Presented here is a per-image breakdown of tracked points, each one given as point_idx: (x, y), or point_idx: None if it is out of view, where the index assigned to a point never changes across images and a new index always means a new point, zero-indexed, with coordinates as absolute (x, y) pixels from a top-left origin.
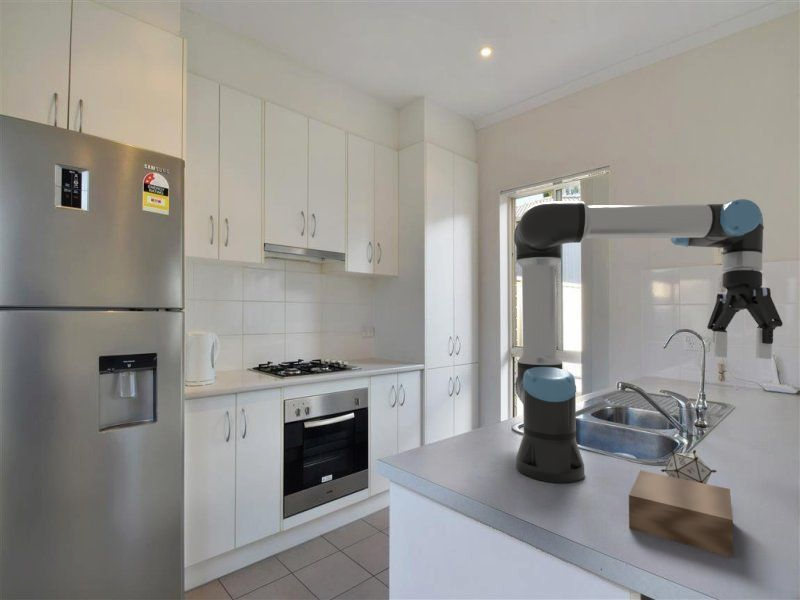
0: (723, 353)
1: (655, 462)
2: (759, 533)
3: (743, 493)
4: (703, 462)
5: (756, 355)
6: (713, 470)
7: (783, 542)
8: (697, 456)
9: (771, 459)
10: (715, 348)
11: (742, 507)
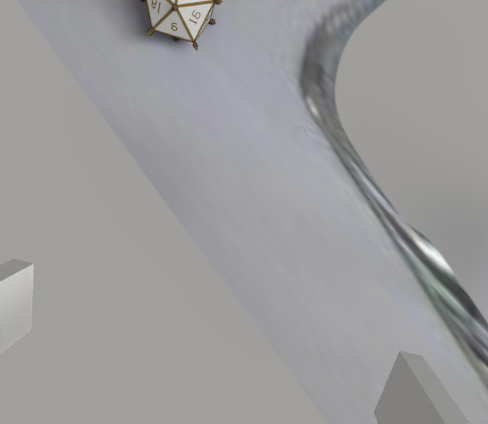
0: (392, 419)
1: (321, 63)
2: (61, 6)
3: (167, 108)
4: (161, 18)
5: (18, 268)
6: (149, 30)
7: (40, 17)
8: (169, 11)
9: (289, 320)
10: (439, 404)
11: (126, 57)
